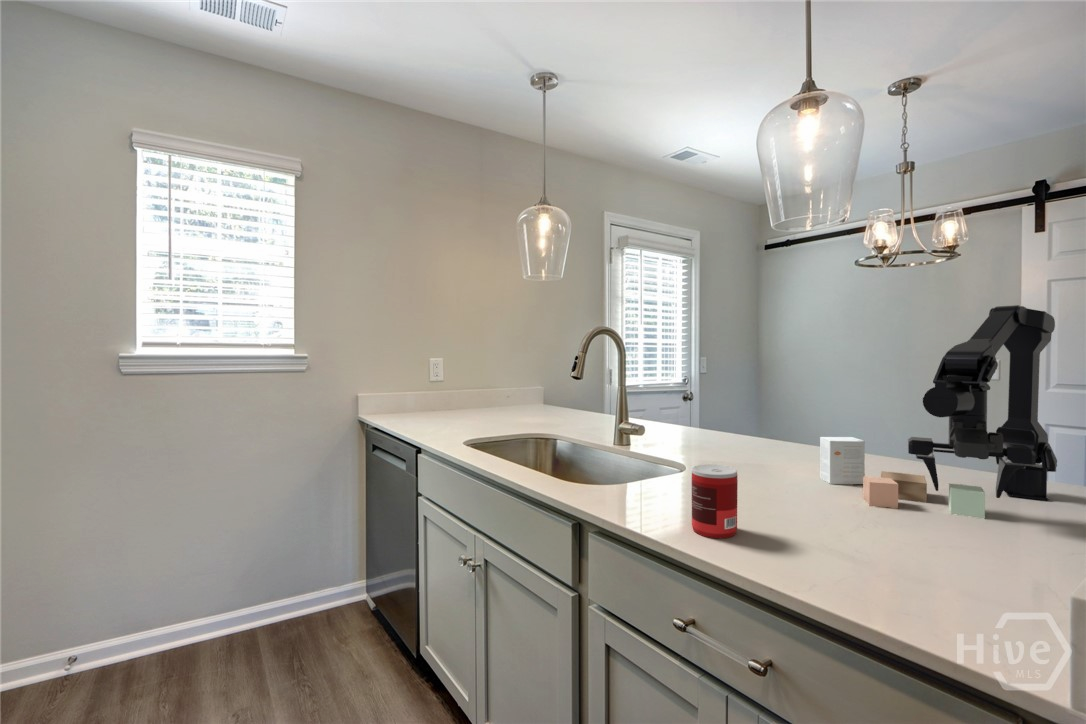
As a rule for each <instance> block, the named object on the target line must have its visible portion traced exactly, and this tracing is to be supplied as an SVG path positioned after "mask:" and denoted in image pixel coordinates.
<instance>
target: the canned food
mask: <svg viewBox="0 0 1086 724" xmlns="http://www.w3.org/2000/svg"><path fill="white" fill-rule="evenodd" d="M738 481H739V480H738V470H737V469H736V468H734V467H730V466H727V465H723V464H722V465H721V464H699V465H694V466H693V467H692V469H691V528H692V531H694V533H696V534H697V535H699V536H702V537H706V538H711V539H728V538H732V537H734V536H735V535H736V534H737V533H736V532H737V530H738V485H739V484H738Z"/></svg>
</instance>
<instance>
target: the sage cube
mask: <svg viewBox="0 0 1086 724" xmlns="http://www.w3.org/2000/svg"><path fill="white" fill-rule="evenodd" d="M948 510H949V513H950V512H951V513H950V515H953V514H957V515H956V516H961V515H964V516H963V517H968V516H971V517H970V518H975V517H978V518H977V519H982V518H985V519H986V492H985V490H984V489H983V487H982V486H976V485H967V484H958V483H948Z"/></svg>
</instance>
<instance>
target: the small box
mask: <svg viewBox="0 0 1086 724" xmlns="http://www.w3.org/2000/svg"><path fill="white" fill-rule="evenodd" d="M865 442H866V441H864V440H863V439H859V438H857V437H854V436H820V437H819V478H821V479H820V480H822V479H823V481H824V482H825V483H827V482H828V484H829V483H830V484H829V485H853V484H863V476H864V477H866V476H865V475H866V474H865V469H866V468H865V464H866V463H865V459H866V457H865V456H866V455H865V452H866V451H865V449H866V447H865V444H866V443H865Z"/></svg>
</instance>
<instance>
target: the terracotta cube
mask: <svg viewBox="0 0 1086 724" xmlns="http://www.w3.org/2000/svg"><path fill="white" fill-rule="evenodd" d="M862 487H863V488H862V500H863V499H864V500H865V501H866V502H867V503H868V504H869V505H868V504H867V503H866V502H865V501H864V500H863V501H864V502H865V503H866V504H867V505H868V506H869V507H873V506H882V507H881V508H886V507H893V508H892V509H899V499H898V484H897V483H896V482H895V481H894V480H892V479H891V478H881V477H877V476H876V477H875V476H865V477H864V476H863V485H862Z"/></svg>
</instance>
